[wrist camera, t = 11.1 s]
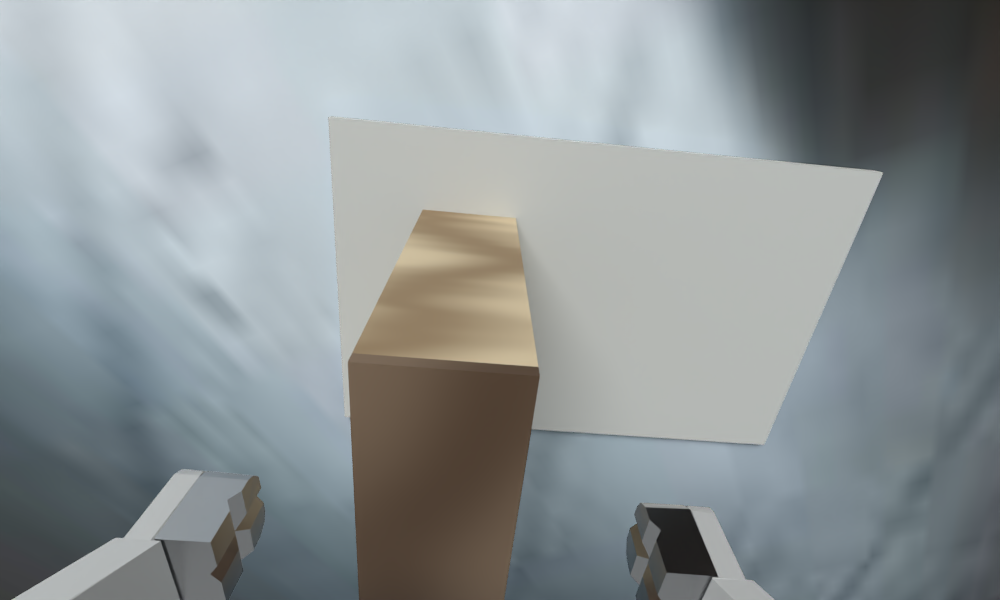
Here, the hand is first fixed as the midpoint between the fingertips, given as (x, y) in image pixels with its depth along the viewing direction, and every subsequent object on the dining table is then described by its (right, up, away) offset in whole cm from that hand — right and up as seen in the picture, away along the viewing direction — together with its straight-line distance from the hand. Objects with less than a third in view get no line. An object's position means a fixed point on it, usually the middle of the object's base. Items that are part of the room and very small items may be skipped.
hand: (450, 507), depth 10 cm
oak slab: (0, +4, +9) cm, 10 cm away
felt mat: (+4, +4, +10) cm, 12 cm away
